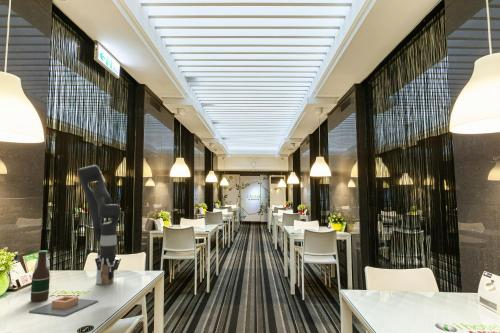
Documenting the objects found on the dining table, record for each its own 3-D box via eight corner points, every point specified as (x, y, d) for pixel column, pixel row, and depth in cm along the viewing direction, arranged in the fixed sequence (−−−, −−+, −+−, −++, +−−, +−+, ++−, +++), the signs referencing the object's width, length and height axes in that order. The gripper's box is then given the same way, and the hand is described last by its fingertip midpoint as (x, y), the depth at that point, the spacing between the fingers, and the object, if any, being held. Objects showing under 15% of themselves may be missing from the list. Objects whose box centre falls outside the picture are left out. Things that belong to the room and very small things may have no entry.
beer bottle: (32, 298, 160) (35, 251, 162) (50, 296, 163) (53, 250, 165) (28, 303, 153) (31, 253, 155) (46, 301, 156) (49, 252, 158)
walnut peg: (106, 283, 157) (107, 263, 158) (112, 283, 156) (113, 263, 157) (101, 285, 154) (102, 264, 155) (107, 285, 153) (108, 264, 154)
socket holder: (65, 298, 160) (65, 291, 160) (98, 301, 155) (98, 294, 155) (28, 312, 141) (29, 304, 141) (64, 316, 136) (65, 307, 136)
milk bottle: (29, 286, 182) (32, 251, 184) (41, 283, 190) (43, 249, 192) (40, 287, 180) (42, 252, 182) (51, 283, 188) (53, 250, 190)
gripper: (125, 243, 159) (124, 277, 157) (101, 242, 162) (100, 276, 161) (115, 245, 151) (114, 282, 150) (91, 244, 155) (89, 280, 153)
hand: (107, 278), depth 155 cm, fingers closed on walnut peg, 3 cm apart
